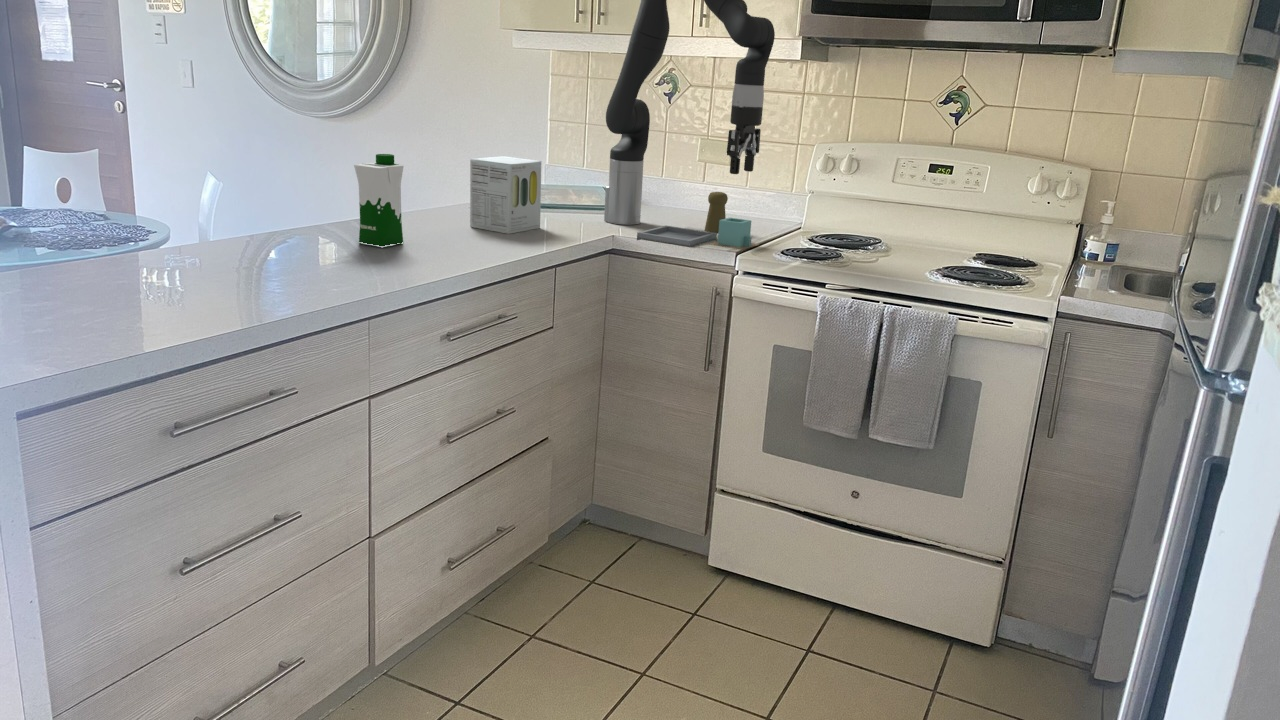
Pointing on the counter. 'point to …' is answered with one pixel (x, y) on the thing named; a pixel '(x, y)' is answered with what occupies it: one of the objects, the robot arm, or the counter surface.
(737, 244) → the open box
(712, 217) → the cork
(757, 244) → the square board with knob
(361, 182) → the milk carton
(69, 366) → the counter surface
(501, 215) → the supplement box
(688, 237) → the tray
